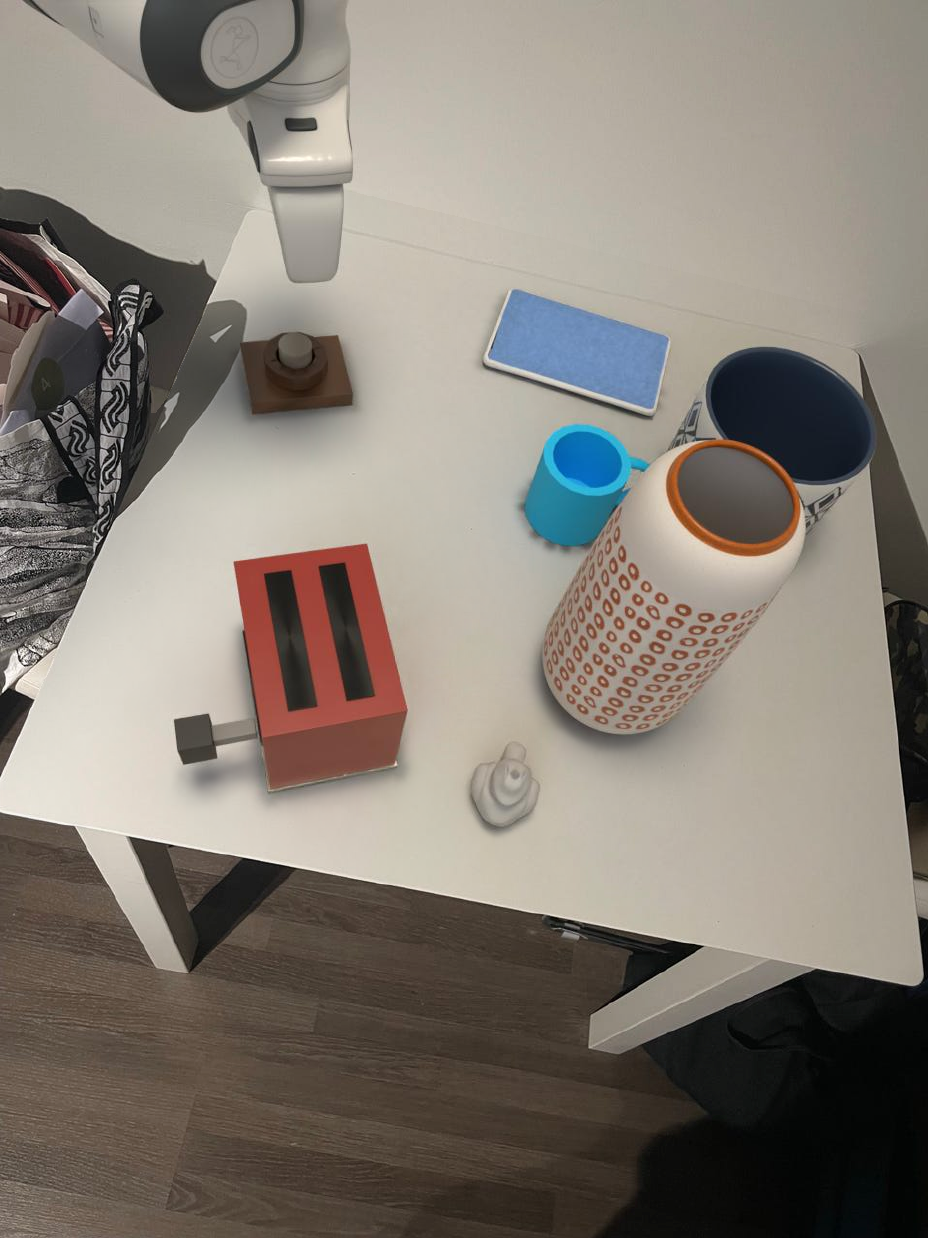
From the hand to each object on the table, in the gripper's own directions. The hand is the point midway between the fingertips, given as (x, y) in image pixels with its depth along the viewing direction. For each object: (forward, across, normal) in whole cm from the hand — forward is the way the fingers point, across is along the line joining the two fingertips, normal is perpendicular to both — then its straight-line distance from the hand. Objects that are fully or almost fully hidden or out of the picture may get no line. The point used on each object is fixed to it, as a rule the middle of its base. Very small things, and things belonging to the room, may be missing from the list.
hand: (293, 249), depth 74 cm
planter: (+16, +22, +40) cm, 48 cm away
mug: (+16, +20, +25) cm, 36 cm away
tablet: (+16, 0, +31) cm, 35 cm away
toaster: (+16, +35, -4) cm, 39 cm away
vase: (+16, +38, +21) cm, 46 cm away
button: (+13, 0, 0) cm, 13 cm away
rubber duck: (+16, +46, +9) cm, 50 cm away
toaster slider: (+10, +40, -12) cm, 43 cm away
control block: (+16, 0, 0) cm, 16 cm away
